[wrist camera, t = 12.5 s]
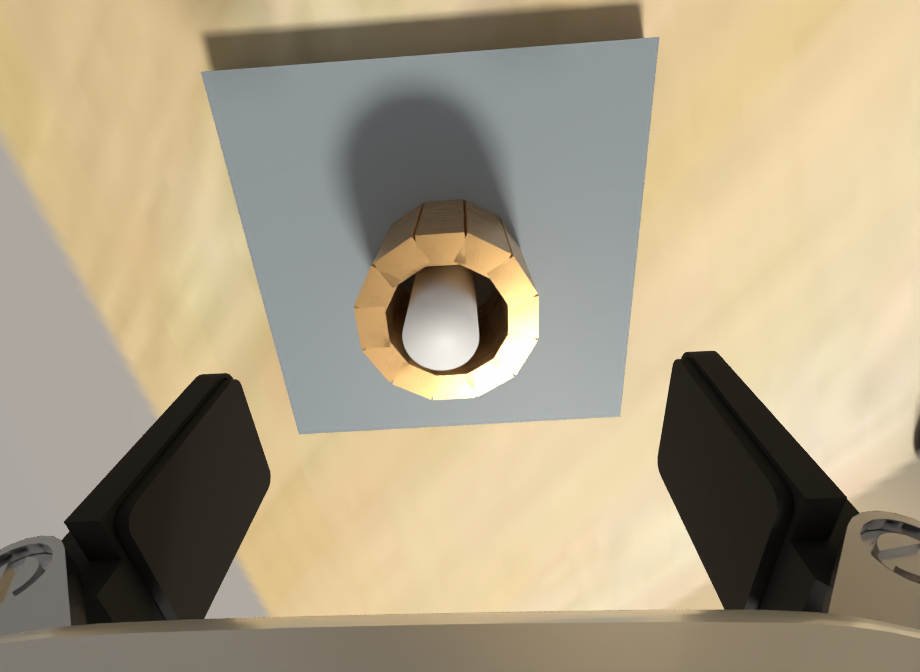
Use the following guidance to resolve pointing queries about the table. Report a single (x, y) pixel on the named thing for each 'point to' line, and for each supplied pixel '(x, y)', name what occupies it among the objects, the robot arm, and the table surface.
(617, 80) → the peg stand
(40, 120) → the table surface
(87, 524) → the robot arm
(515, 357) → the ring
